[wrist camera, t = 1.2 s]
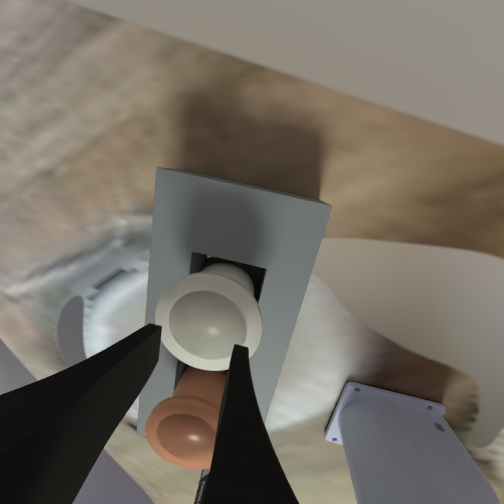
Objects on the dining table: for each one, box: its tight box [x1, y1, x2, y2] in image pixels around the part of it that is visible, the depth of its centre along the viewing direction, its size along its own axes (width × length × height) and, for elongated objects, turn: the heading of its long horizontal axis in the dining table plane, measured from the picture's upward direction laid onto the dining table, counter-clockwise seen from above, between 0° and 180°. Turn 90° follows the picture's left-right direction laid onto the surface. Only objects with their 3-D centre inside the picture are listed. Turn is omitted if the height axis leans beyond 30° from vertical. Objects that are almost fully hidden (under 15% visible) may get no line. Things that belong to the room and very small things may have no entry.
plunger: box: [155, 262, 262, 371], centre depth 15 cm, size 6×6×4 cm
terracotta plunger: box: [145, 366, 227, 470], centre depth 18 cm, size 6×6×4 cm
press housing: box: [137, 167, 332, 437], centre depth 20 cm, size 24×11×4 cm, turn 168°
